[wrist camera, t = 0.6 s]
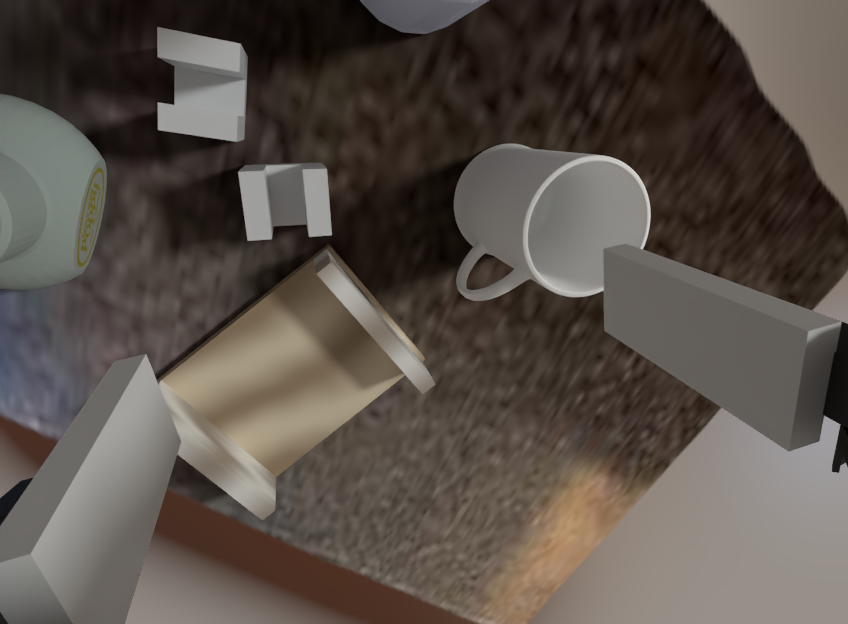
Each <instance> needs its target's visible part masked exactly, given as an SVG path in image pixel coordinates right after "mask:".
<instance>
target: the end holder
mask: <svg viewBox="0 0 848 624" xmlns="http://www.w3.org/2000/svg"><path fill="white" fill-rule="evenodd" d="M424 360H425V358H424V356H423V355H422V353H421V352H420V351H419V350H418V349H417V347H416V346H415V345H414V344H413V343H412V342H411V340H410V339H409V338H408V337H407V336H406V334H405V333H404V332H403V331H402V330H401V328H400V327H399V326H398V325H397V324H396V323H395V321H394V320H393V319H392V318H391V317H390V315H389V314H388V313H387V312H386V311H385V309H384V308H383V307H382V306H381V305H380V304H379V302H378V301H377V300H376V299H375V298H374V296H373V295H372V294H371V293H370V292H369V290H368V289H367V288H366V287H365V286H364V285H363V283H362V282H361V281H360V280H359V279H358V277H357V276H356V275H355V274H354V273H353V272H352V270H351V269H350V268H349V267H348V266H347V264H346V263H345V262H344V261H343V260H342V258H341V257H340V256H339V255H338V254H337V253H336V251H335V250H334V249H333V248H332V247H331V245H330V244H329V243H328V244H327V245H326V246H325V247H323V248H322V249H321V250H320V251H318V252H317V253H316V254H315V255H313V256H312V257H311V258H310V259H308V260H307V261H306V262H305V263H303V264H302V265H301V266H300V267H298V268H297V269H296V270H294V271H293V272H292V273H291V274H289V275H288V276H287V277H286V278H284V279H283V280H282V281H281V282H279V283H278V284H277V285H276V286H274V287H273V288H272V289H271V290H269V291H268V292H267V293H266V294H264V295H263V296H262V297H261V298H259V299H258V300H257V301H255V302H254V303H253V304H252V305H250V306H249V307H248V308H247V309H245V310H244V311H243V312H242V313H240V314H239V315H238V316H237V317H235V318H234V319H233V320H232V321H230V322H229V323H228V324H227V325H225V326H224V327H223V328H222V329H220V330H219V331H218V332H216V333H215V334H214V335H213V336H211V337H210V338H209V339H208V340H206V341H205V342H204V343H203V344H201V345H200V346H199V347H198V348H196V349H195V350H194V351H193V352H191V353H190V354H189V355H188V356H186V357H185V358H184V359H183V360H181V361H180V362H179V363H177V364H176V365H175V366H174V367H172V368H171V369H170V370H169V371H167V372H166V373H165V374H164V375H162V376H161V377H160V378H159V379H157V382H158V385H159V387H160V390H161V392H162V395H163V397H164V400H165V402H166V405H167V407H168V410H169V412H170V415H171V417H172V420H173V422H174V424H175V427H176V429H177V432H178V434H179V437H180V439H181V444H180V448H179V451H178V454H177V455H179V456H180V457H181V458H183V459H184V460H185V461H187V462H188V463H189V464H190V465H192V466H193V467H194V468H196V469H197V470H198V471H199V472H201V473H202V474H203V475H205V476H206V477H207V478H208V479H210V480H211V481H212V482H214V483H215V484H216V485H217V486H219V487H220V488H221V489H223V490H224V491H225V492H226V493H228V494H229V495H230V496H232V497H233V498H234V499H235V500H237V501H238V502H239V503H241V504H242V505H243V506H245V507H246V508H247V509H248V510H250V511H251V512H252V513H254V514H255V515H256V516H257V517H259V518H260V519H261V520H264V519H265V518H266V517H268V516H269V515H270V514H271V513H273V512H274V511H275V497H276V477H277V476H278V475H279V474H280V473H282V472H283V471H284V470H285V469H287V468H288V467H289V466H291V465H292V464H293V463H294V462H296V461H297V460H298V459H299V458H301V457H302V456H303V455H305V454H306V453H307V452H308V451H310V450H311V449H312V448H313V447H315V446H316V445H317V444H318V443H320V442H321V441H322V440H324V439H325V438H326V437H327V436H329V435H330V434H331V433H332V432H334V431H335V430H336V429H337V428H339V427H340V426H341V425H343V424H344V423H345V422H346V421H348V420H349V419H350V418H351V417H353V416H354V415H355V414H357V413H358V412H359V411H360V410H362V409H363V408H364V407H365V406H367V405H368V404H369V403H370V402H372V401H373V400H374V399H376V398H377V397H378V396H379V395H381V394H382V393H383V392H384V391H386V390H387V389H388V388H389V387H391V386H392V385H393V384H395V383H396V382H397V381H398V380H400V379H401V378H402V377H403V376H405V375H406V376H407V377H408V378H409V379H410V380H411V382H412V383H413V384H414V385H415V386H416V387H417V388H418V390H419V391H420V392H421V393H422V394H424V393H425V392H426V391H428V390H429V389H430V388H431V387H433V386H434V385H435V383H434V381H433V379H432V377H431V376H430V374H429V372H428V371H427V369H426V367H425V365H424V364H423V362H422V361H424Z"/></svg>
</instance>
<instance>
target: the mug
mask: <svg viewBox="0 0 848 624" xmlns="http://www.w3.org/2000/svg"><path fill="white" fill-rule="evenodd" d="M454 214H455V219H456V223H457V225H458V228H459V230H460V232H461V233H462V235H463V236H464V238H465V239H466V240H467V241H468V242H469V243H470V244H471V245H472V246H473V248H472V249H471V250H470V252H469V253H468V254H467V256H466V257H465V259H464V260H463V262H462V264H461V266H460V268H459V271H458V274H457V279H456V283H457V287H458V290H459V291H460V293H461V294H462V295H463V296H464V297H466V298H467V299H470V300H474V301H483V300H489V299H492V298H495V297H498V296H500V295H502V294H504V293H506V292H508V291H510V290H512V289H514V288H515V287H517V286H518V285H520V284H521V283H523V282H524V281H526V280H528V279H532V280H533V281H535V282H537V283H538V284H540V285H541V286H543V287H545V288H546V289H548V290H550V291H552V292H554V293H556V294H559V295H563V296H568V297H584V296H589V295H593V294H596V293H599V292H601V291H603V290H604V259H603V249H604V248H609V247H613V246H617V245H622V244H628V245H631V246H634V247H637V248H639V249H642V250H643V247H644V245H645V242H646V239H647V236H648V232H649V227H650V203H649V198H648V194H647V191H646V189H645V186H644V184H643V182H642V181H641V179H640V178H639V176H638V175H637V174H636V172H635V171H634V170H633V169H632V168H630V167H629V166H628V165H626V164H625V163H623V162H622V161H620V160H617V159H615V158H612V157H608V156H602V155H592V154H581V153H570V152H559V151H548V150H537V149H531V148H529V147H526V146H523V145H519V144H501V145H497V146H494V147H491V148H489V149H487V150H485V151H483V152H482V153H480V154H479V155H477V156H476V157H475V158H474V159H473V160H472V161H471V162H470V163H469V164H468V165H467V167H466V168H465V170H464V171H463V173H462V175H461V176H460V179H459V181H458V183H457V186H456V190H455V195H454ZM485 253H486V254H489V255H493V256H495V257H497V258H498V259H500V260H501V261H503V262H505V263H506V264H508V265H509V266H511V267H513V268H514V270H513V271H512V272H511V273H510V274H509V275H507V276H506V277H505V278H503V279H501V280H500V281H498V282H496V283H494V284H492V285H490V286H488V287H485V288H482V289H479V290H468V289H467V288H466V282H467V278H468V275H469V273H470V271H471V269H472V268H473V266H474V265H475V263H476V262H477V261H478V259H479V258H480V257H481V256H482V255H484V254H485Z"/></svg>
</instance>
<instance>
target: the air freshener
mask: <svg viewBox="0 0 848 624" xmlns="http://www.w3.org/2000/svg"><path fill="white" fill-rule="evenodd" d="M106 184H107V170H106V163H105V161H104V159H103V158H102V156H101V155H100V153H99V152H98V150H97V149H96V148H95V147H94V146H93V144H92V143H91V142H90V141H89V140H88V139H87V138H86V137H85V135H83V134H82V133H81V132H80V131H79V130H78V129H76V128H75V127H74V126H73V125H72V124H71V123H69V122H68V121H66V120H65V119H63V118H62V117H60V116H59V115H57V114H55V113H54V112H52V111H50V110H48V109H46V108H44V107H42V106H40V105H38V104H35V103H33V102H30V101H27V100H24V99H21V98H18V97H14V96H10V95H4V94H0V289H10V290H32V289H41V288H46V287H51V286H55V285H58V284H61V283H64V282H66V281H69V280H72V279H73V278H75V277H77V276H79V275H80V274H82V273H83V272H84V270H85V269H86V267H87V265H88V263H89V261H90V259H91V256H92V253H93V251H94V248H95V244H96V241H97V237H98V234H99V229H100V225H101V220H102V215H103V210H104V204H105V196H106Z"/></svg>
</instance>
